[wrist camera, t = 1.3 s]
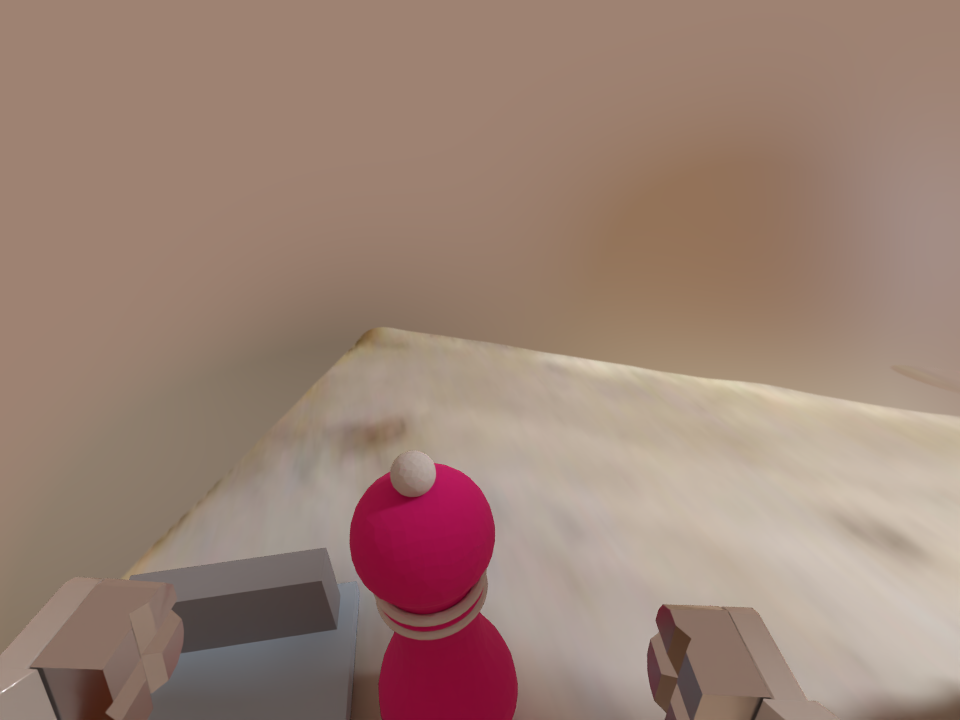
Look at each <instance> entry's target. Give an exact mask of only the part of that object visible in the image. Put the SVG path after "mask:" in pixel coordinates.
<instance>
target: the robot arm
mask: <svg viewBox="0 0 960 720" xmlns="http://www.w3.org/2000/svg"><path fill="white" fill-rule="evenodd" d="M176 601H177V596H176V592H175V589H174V585H173V584H170V583H164V582H150V581H136V580H122V579H108V578H107V579H102V578H87V577H75V578H73V579H71V580H69V581H67V582H66V583H64V584H63V585H62V586H61V587H60V589H59V590H58V591H57V592H56V593H55V594H54V595H53V596H52V598H51V599H50V600H49V601H48V602H47V603H46V604H45V605H44V606H43V608H42V609H41V610H40V611H39V612H38V613H37V614H36V615H35V617H34V618H33V619H32V620H31V621H30V622H29V623H28V624H27V626H26V627H25V628H24V629H23V630H22V631H21V632H20V633H19V635H18V636H17V637H16V638H15V639H14V640H13V641H12V642H11V644H10V645H9V646H8V647H7V648H6V649H5V650H4V651H3V653H2V654H1V655H0V720H147V719H148V717H149V715H150V714H151V712H152V710H153V702H152V696H151V694H152V693H153V692H154V691H156V690H157V689H158V688H159V687H161V686H162V685H163V684H165V683H166V682H167V681H169V679H170V677H171V675H172V673H173V671H174V669H175V667H176V665H177V663H178V660H179V657H180V653H181V650H182V647H183V640H184V627H183V622H182V619H181V618H180V617H179V616H178V615H177V614H176V613H175V612H174V611H173V610H171V609H172V607H173V605H174V604H175V602H176ZM656 623H657V626H658V629H659V633H658V634H656V635H655V636H654V637H653V638H651V639H650V644H649V648H648V653H647V671H648V677H649V683H650V687H651V691H652V694H653V698H654V701H655V702H656V703H657V704H658V705H659V706H660V707H661V708H662V709H663V710H664V711H665V712H666V713H667V714H666V718H665V720H840V719H839V718H837V717H836V716H835V715H834V714H832V713H831V712H830V711H829V710H828V709H826V708H825V707H824V706H823V705H821V704H820V703H819V702H818V701H808V700H807V698H806V696H805V694H804V693H803V691H802V689H801V687H800V686H799V684H798V682H797V680H796V679H795V677H794V675H793V673H792V672H791V670H790V668H789V666H788V664H787V663H786V661H785V659H784V657H783V656H782V654H781V652H780V650H779V649H778V647H777V645H776V643H775V642H774V640H773V638H772V636H771V635H770V633H769V631H768V629H767V627H766V626H765V624H764V622H763V620H762V619H761V617H760V615H759V613H758V612H756V611H755V610H754V609H753V608H744V607H719V606H698V605H667V604H663V605H662V606H661V607H660V609H659V610H658V614H657V617H656Z"/></svg>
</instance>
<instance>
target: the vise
mask: <svg viewBox="0 0 960 720" xmlns="http://www.w3.org/2000/svg"><path fill="white" fill-rule="evenodd" d="M129 580H136V581H150V582H164V583H170V584H173V585H174V589H175V592H176V596H177V601H176V602H175V604H174V605H173V607H172V609H171V610H173V611H174V612H175V613H176V614H177V615H178V616H179V617H180V618H181V619H182V622H183V627H184V640H183V647H182V650H181V653H180V657H179V660H178V663H177V665H176V667H175V669H174V671H173V673H172V675H171V677H170V679H169V681H167V682H166V683H165V684H163V685H162V686H161V687H159V688H158V689H157V690H156V691H154V692H153V693H152V694H151V696H152V702H153V710H152V712H151V714H150V715H149V717H148V719H147V720H350V717H351V703H352V689H353V675H354V661H355V647H356V633H357V619H358V605H359V589H358V585H357V582H356V581H355V582H348V583H341V584H337V582H336V579H335V575H334V572H333V569H332V565H331V562H330V559H329V555H328V552H327V549H326V548H320V549H313V550H306V551H299V552H292V553H285V554H278V555H271V556H264V557H257V558H250V559H243V560H236V561H229V562H222V563H215V564H208V565H201V566H194V567H187V568H180V569H173V570H166V571H159V572H153V573H146V574H139V575H132V576H131V577H130V579H129Z"/></svg>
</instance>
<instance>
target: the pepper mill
mask: <svg viewBox="0 0 960 720" xmlns="http://www.w3.org/2000/svg"><path fill="white" fill-rule="evenodd" d="M494 543H495V525H494V520H493V516H492V512H491V509H490V506H489V504H488V502H487V500H486V498H485V496H484V494H483V493H482V491H481V489H480V488H479V487H478V486H477V485H476V484H475V483H474V482H473V481H472V480H471V479H470V478H469V477H468V476H466V475H465V474H464V473H462V472H461V471H459V470H456V469H454V468H451V467H449V466H446V465H442V464H436V463H433V461H432V459H431V458H430V457H429V456H428V455H426V454H425V453H423V452H419V451H407V452H405V453H402V454H400V455H399V456H398V457H397V458H396V459H395V460H394V462H393V464H392V466H391V470H390V472H389V473H387V474H385V475H384V476H382V477H381V478H379V479H377V480H376V481H375V482H374V483H373V484H372V485H371V486H370V487H369V488H368V489H367V491H366V492H365V493H364V495H363V496H362V498H361V499H360V501H359V503H358V504H357V506H356V508H355V512H354V515H353V518H352V522H351V528H350V550H351V556H352V561H353V564H354V566H355V569H356V572H357V574H358V575H359V577H360V578H361V580H362V581H363V583H364V585H365V586H366V587H367V588H368V589H369V590H370V591H371V592H373V593H374V596H375V599H376V604H377V608H378V611H379V613H380V615H381V617H382V619H383V620H384V622H385V623H386V624H387V625H388V626H389V627H390V628H391V629H392V630H394V631H395V632H394V634H393V637H392V639H391V641H390V643H389V645H388V648H387V650H386V652H385V655H384V658H383V662H382V667H381V672H380V678H379V684H378V685H379V703H380V711H381V717H382V720H512V718H513V715H514V712H515V708H516V702H517V695H518V683H517V677H516V672H515V667H514V663H513V659H512V656H511V653H510V651H509V649H508V647H507V645H506V643H505V641H504V640H503V638H502V636H501V635H500V633H499V632H498V631H497V629H496V628H495V626H494V625H493V624H492V623H491V622H490V621H489V620H487V619H486V618H485V617H484V616H483V615H482V614H481V613H480V610H481V608H482V606H483V604H484V602H485V599H486V595H487V588H488V581H487V575H486V570H487V569H486V568H487V567H488V564H489V562H490V559H491V557H492V553H493V548H494Z"/></svg>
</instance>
